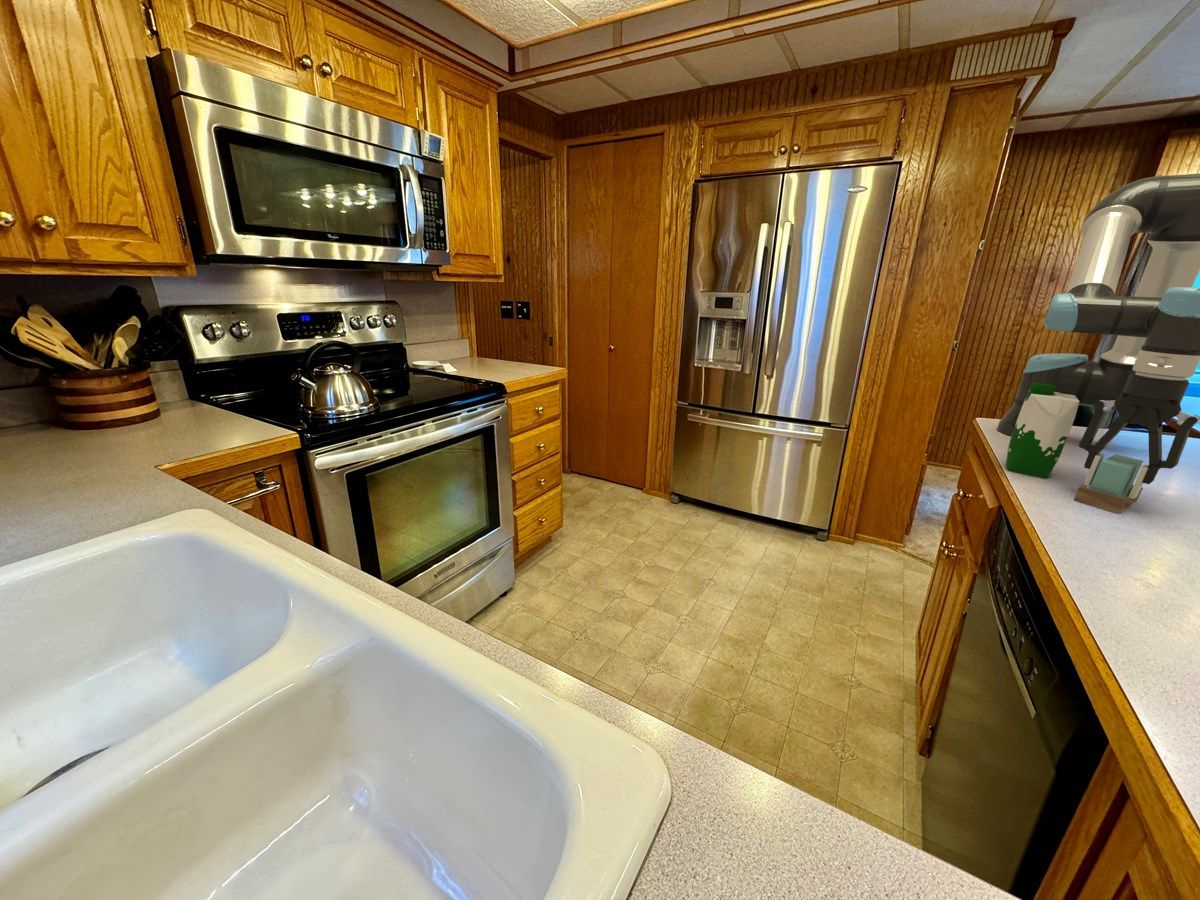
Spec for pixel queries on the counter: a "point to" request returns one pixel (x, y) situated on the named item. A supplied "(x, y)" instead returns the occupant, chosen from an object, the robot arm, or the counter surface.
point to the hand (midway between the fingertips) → (1109, 490)
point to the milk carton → (1041, 430)
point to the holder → (1104, 499)
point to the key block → (1116, 475)
